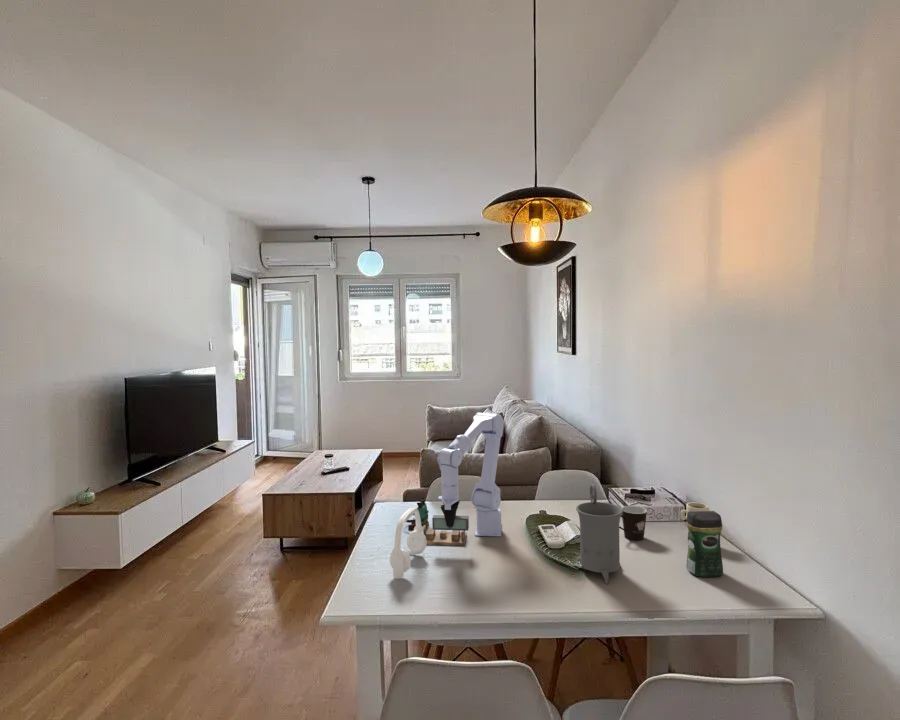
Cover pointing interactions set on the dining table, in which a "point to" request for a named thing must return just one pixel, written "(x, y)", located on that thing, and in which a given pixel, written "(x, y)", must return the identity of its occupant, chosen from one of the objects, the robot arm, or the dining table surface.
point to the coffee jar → (704, 543)
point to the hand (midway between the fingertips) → (450, 524)
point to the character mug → (693, 509)
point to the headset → (414, 541)
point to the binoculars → (423, 514)
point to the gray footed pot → (599, 535)
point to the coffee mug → (634, 522)
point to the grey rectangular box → (459, 524)
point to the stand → (445, 537)
